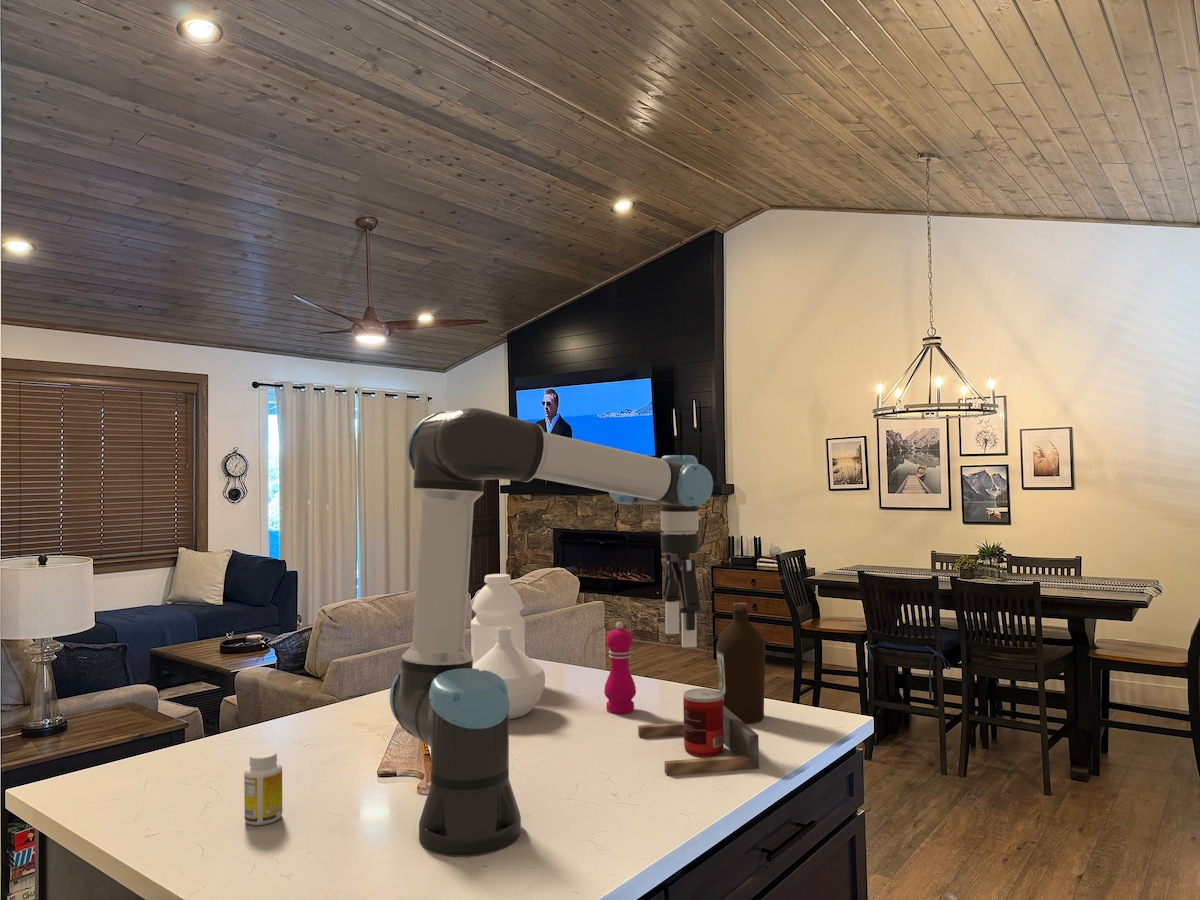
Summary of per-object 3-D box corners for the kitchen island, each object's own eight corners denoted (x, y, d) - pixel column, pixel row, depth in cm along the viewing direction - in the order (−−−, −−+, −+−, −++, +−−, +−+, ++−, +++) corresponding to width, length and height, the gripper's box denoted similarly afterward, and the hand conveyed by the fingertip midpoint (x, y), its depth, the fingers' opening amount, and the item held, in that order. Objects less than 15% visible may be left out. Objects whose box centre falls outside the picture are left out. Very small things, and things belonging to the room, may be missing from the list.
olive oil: (765, 711, 187) (763, 599, 188) (768, 725, 177) (766, 607, 177) (717, 709, 188) (715, 599, 189) (717, 724, 178) (716, 606, 179)
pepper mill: (600, 713, 187) (599, 624, 187) (609, 704, 193) (608, 618, 194) (631, 715, 184) (630, 625, 185) (639, 707, 191) (638, 619, 192)
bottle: (476, 694, 204) (475, 579, 205) (466, 680, 217) (465, 573, 218) (531, 688, 209) (530, 576, 209) (518, 676, 222) (518, 570, 223)
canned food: (722, 744, 165) (721, 688, 165) (724, 757, 157) (723, 699, 157) (684, 743, 166) (683, 687, 166) (684, 756, 158) (683, 698, 158)
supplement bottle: (286, 811, 134) (286, 747, 134) (276, 825, 128) (276, 759, 129) (250, 813, 133) (250, 748, 134) (239, 827, 128) (239, 760, 128)
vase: (552, 703, 195) (552, 621, 196) (535, 727, 177) (534, 637, 177) (477, 701, 198) (476, 620, 198) (452, 724, 180) (452, 635, 180)
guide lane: (666, 775, 148) (666, 741, 148) (638, 735, 171) (637, 705, 171) (758, 768, 151) (758, 734, 151) (718, 729, 174) (718, 701, 174)
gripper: (716, 536, 154) (716, 652, 153) (682, 528, 178) (683, 628, 178) (676, 537, 153) (677, 653, 152) (648, 529, 177) (648, 629, 177)
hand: (680, 640), depth 165 cm, fingers open, 13 cm apart
